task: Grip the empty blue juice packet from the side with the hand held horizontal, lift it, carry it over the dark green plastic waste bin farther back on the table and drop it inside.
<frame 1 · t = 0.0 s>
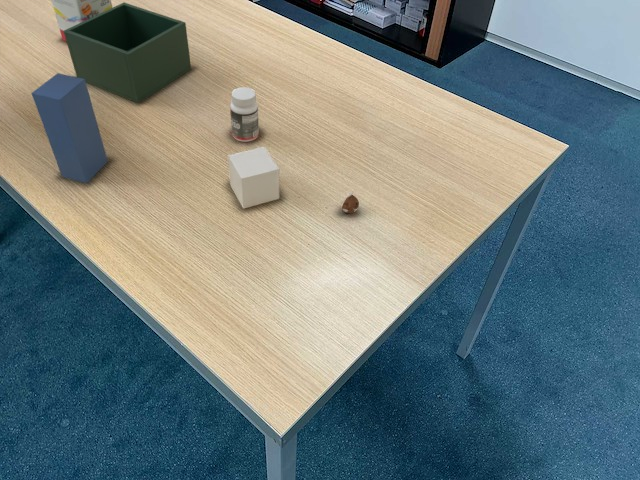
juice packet: (85, 169, 88), on the table
pill bottle: (245, 135, 97), on the table
chocolate: (349, 213, 84), on the table
ink box: (91, 39, 118), on the table
white cube: (254, 193, 86), on the table
waste bin: (135, 74, 109), on the table
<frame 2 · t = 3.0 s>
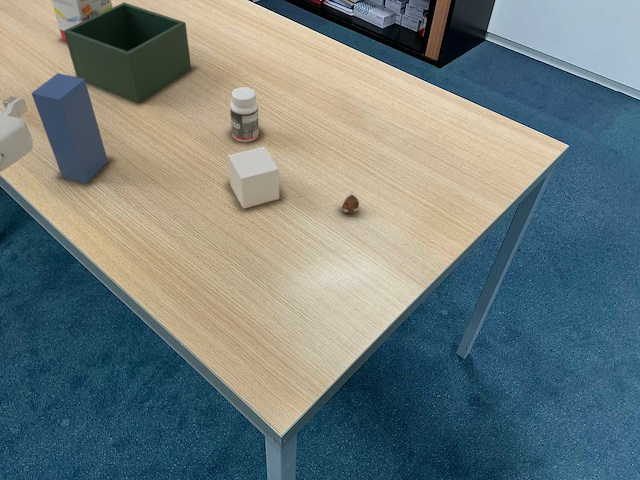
nothing on the table moved.
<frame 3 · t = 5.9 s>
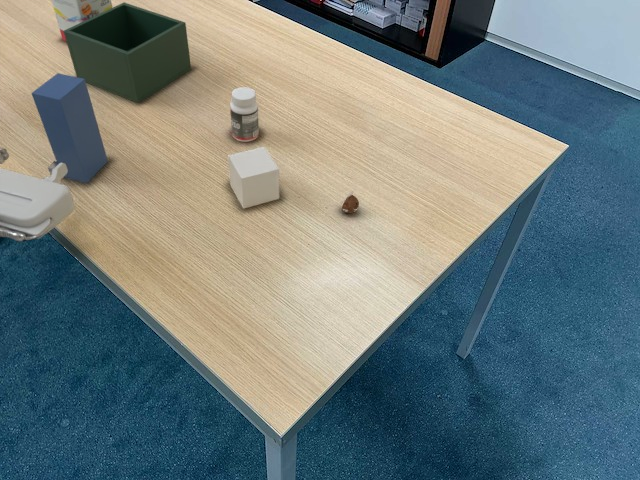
hand: (32, 158, 76), 9 cm above the table, tool horizontal, fingers open, 8 cm apart
nothing on the table moved.
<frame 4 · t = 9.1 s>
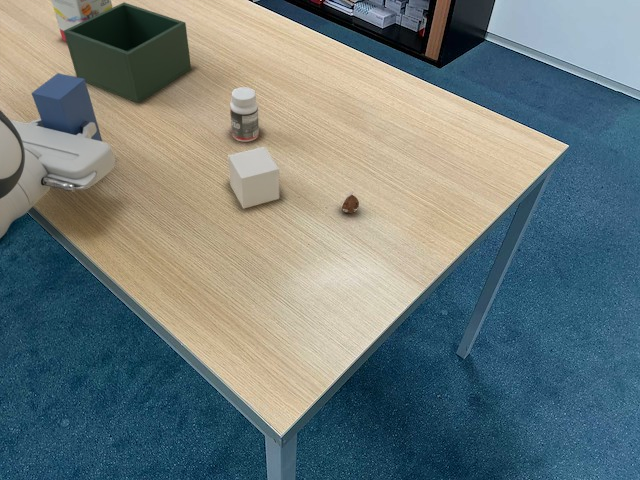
hand: (74, 121, 82), 9 cm above the table, tool horizontal, fingers closed on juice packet, 4 cm apart
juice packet: (85, 169, 88), on the table, touching gripper
everything else where it was.
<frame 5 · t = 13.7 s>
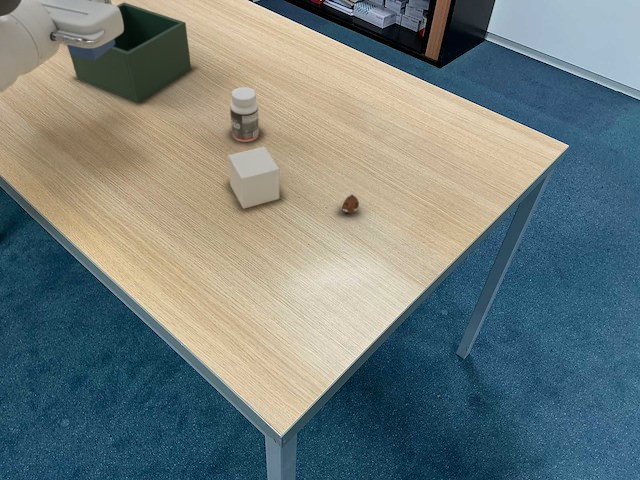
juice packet: (93, 49, 88), point 13 cm above the table, touching gripper
everything else where it was.
when the fingers open (16 cm above the table, at t = 18.2 s): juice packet drops 7 cm, resting on waste bin.
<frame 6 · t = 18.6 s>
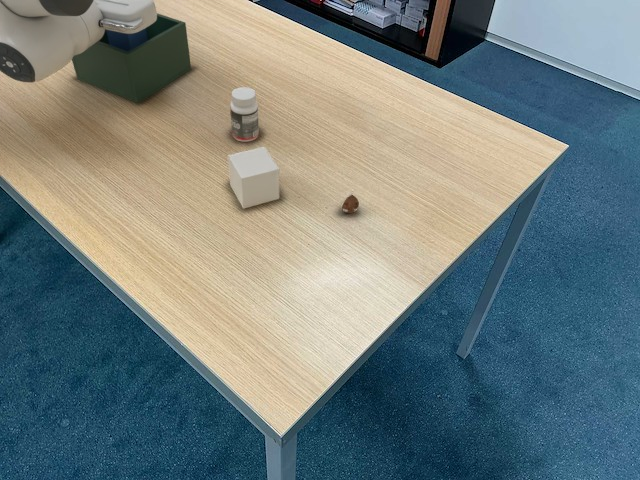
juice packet: (134, 70, 109), point 1 cm above the table, touching waste bin
everything else where it was.
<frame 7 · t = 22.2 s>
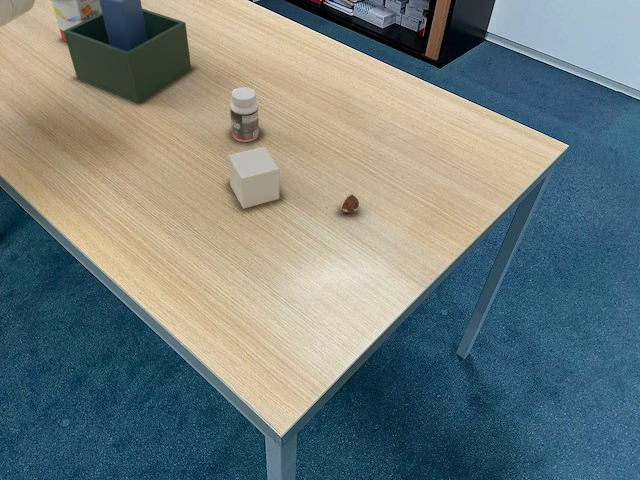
nothing on the table moved.
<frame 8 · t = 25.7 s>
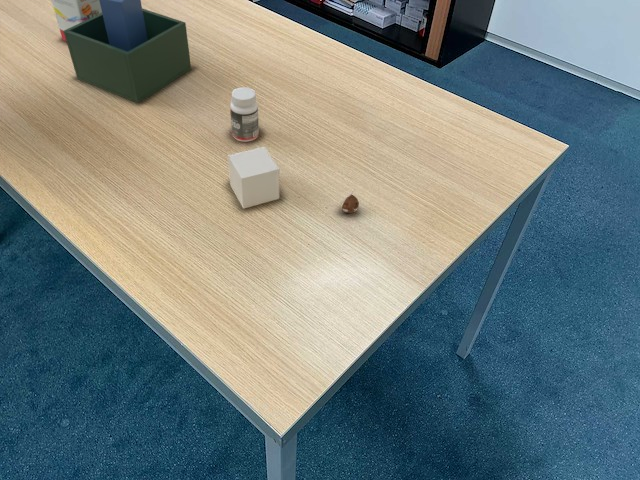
nothing on the table moved.
at the end: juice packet inside the target area in the waste bin (0.0 cm from its centre), point 0.8 cm above the waste bin's base; the gripper is holding nothing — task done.
